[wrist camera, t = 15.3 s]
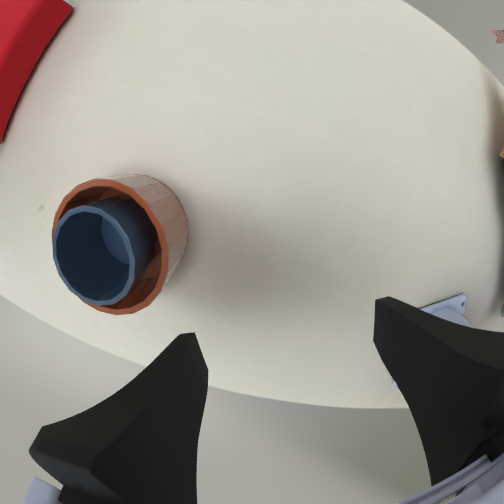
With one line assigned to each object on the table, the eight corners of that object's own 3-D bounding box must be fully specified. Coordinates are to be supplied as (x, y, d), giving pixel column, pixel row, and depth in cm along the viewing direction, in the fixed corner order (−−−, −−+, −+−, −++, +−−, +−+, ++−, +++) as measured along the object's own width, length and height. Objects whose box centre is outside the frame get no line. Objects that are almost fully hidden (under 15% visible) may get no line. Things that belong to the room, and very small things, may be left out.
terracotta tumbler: (199, 273, 19) (185, 307, 14) (108, 287, 20) (78, 318, 15) (174, 161, 17) (148, 160, 12) (80, 191, 17) (39, 201, 12)
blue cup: (176, 260, 18) (148, 300, 13) (112, 271, 19) (72, 309, 13) (157, 184, 17) (117, 193, 11) (93, 203, 17) (42, 220, 11)
